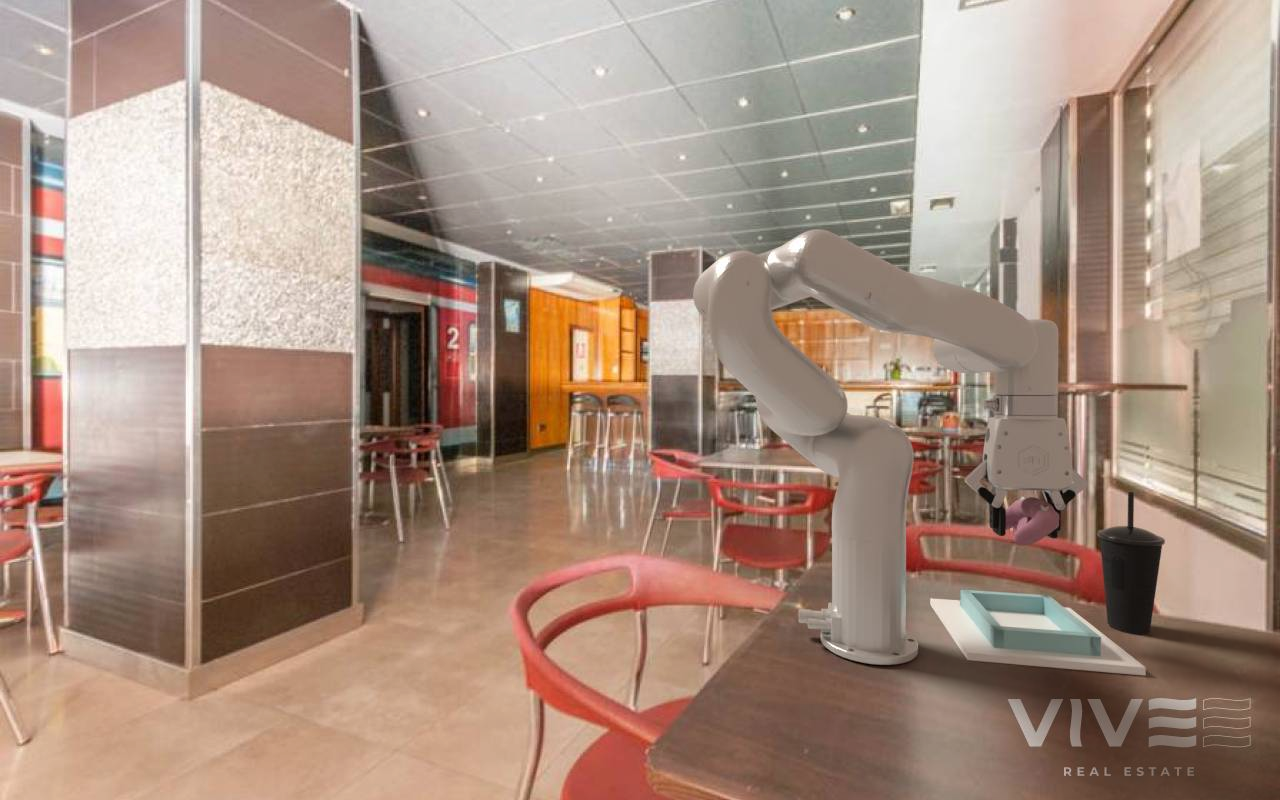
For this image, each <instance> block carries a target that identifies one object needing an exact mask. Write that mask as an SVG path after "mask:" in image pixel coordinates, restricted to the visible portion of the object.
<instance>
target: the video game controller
mask: <svg viewBox="0 0 1280 800" xmlns="http://www.w3.org/2000/svg"><path fill="white" fill-rule="evenodd" d="M1005 510H1006V531H1007V530H1011V529H1012V528H1015V527H1016V531H1015V532H1014V534H1013V542H1014V543H1015V544H1016V545H1017V546H1019V547H1023V546H1024V547H1025V546H1030V545H1033V544H1036V543H1038V542H1040V541H1041V540H1043V539H1044V538H1046V537H1047V535H1048V534H1050V533H1051V532H1053V531H1054V530H1055V529H1056V528H1057V527H1058V525H1059V514H1058V513H1057V512H1056V511H1055V510H1054V508H1053V507H1052V505H1050V504H1049V503H1048V502H1046V500H1043V499H1041V498H1037V497H1033V496H1032V497H1031V496H1030V497H1024V496H1021V497H1020V499H1017V500H1015V501H1014V502H1013V503H1012V504H1010V506H1009V507H1006V508H1005Z"/></svg>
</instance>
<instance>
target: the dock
mask: <svg viewBox="0 0 1280 800" xmlns="http://www.w3.org/2000/svg"><path fill="white" fill-rule="evenodd" d="M930 606H931V607H932V609H933V611H934V612H935V614H936V615H937V617H938V618H939V620H940V621H941V623H942V624H943V626H944V627H945V629H946V630H947V633H949V635H950V637H951V638H952V639H953V640H954V642H955V643H956V645H957V646H958V649H959V650H960V651H961V653H962V654H963V655H964V656H963V657H965V658H966V660H967V661H973V662H984V663H985V662H986V663H995V664H997V663H998V664H1007V665H1008V664H1009V665H1018V666H1019V665H1020V666H1032V667H1040V668H1041V667H1043V668H1054V669H1065V670H1078V671H1085V672H1086V671H1088V672H1098V673H1099V672H1101V673H1110V674H1124V675H1134V676H1135V675H1136V676H1145V677H1146V676H1147V674H1146V671H1147V668H1146V666H1145V665H1143V664H1142V663H1140V662H1139V661H1138V660H1137V659H1135V658H1134V657H1133V656H1132V655H1130V654H1129V653H1128V652H1126V651H1125V650H1124V649H1123V648H1122V647H1120V646H1119V645H1118V644H1116V643H1115V642H1114V641H1112V640H1111V639H1110V638H1109V637H1107V636H1106V635H1105V634H1104V633H1103V632H1101V631H1100V630H1099V629H1097V628H1096V627H1095V626H1094V625H1092V624H1091V623H1090V622H1089V621H1087V620H1086V619H1084V618H1083V617H1082V616H1081V615H1079V614H1078V612H1076V611H1074V610H1073V609H1072V608H1071V607H1066V606H1065V607H1064V606H1063V605H1061V604H1060V603H1059V602H1058V601H1057V600H1055V599H1054V598H1053V597H1051V596H1050V595H1049V594H1036V593H1035V594H1034V593H1019V592H1017V593H1015V592H1003V591H1001V592H1000V591H987V590H986V591H985V590H972V589H971V590H970V589H960V590H959V600H958V599H943V598H932V597H931V598H930Z"/></svg>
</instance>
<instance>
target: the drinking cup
mask: <svg viewBox="0 0 1280 800" xmlns="http://www.w3.org/2000/svg"><path fill="white" fill-rule="evenodd" d="M1134 505H1135V492H1134V491H1128V492H1127V525H1117V526H1111V527H1107V528H1104V529H1099V530H1097V531H1096V532H1097V537H1099V543H1100V556H1101V565H1102V574H1103V575H1102V577H1103V578H1102V579H1103V586H1104V597H1105V609H1106V620H1107V621H1106V622H1107V625H1108V624H1109V625H1110V626H1112V627H1113V629H1114V628H1115V629H1114V630H1116V629H1118V630H1117V631H1119V630H1121V631H1120V632H1123V631H1124V633H1127V632H1128V634H1132V633H1133V634H1134V635H1147V634H1150V632H1151V627H1152V626H1151V625H1152V620H1153V619H1152V618H1153V613H1154V605H1155V599H1156V593H1157V592H1156V591H1157V585H1158V584H1157V583H1158V578H1159V571H1160V562H1161V556H1162V549H1163V546H1164V545H1165V544H1166V541H1165V538H1164V537H1162V536H1160V535H1158V534H1155V533H1153V532H1152V531H1149V530H1146V529H1144V528H1139V527H1135V526H1134V518H1135V517H1134V515H1135V514H1134V512H1135V511H1134V510H1135V509H1134V507H1135V506H1134ZM1109 625H1108V626H1109ZM1110 626H1109V627H1110ZM1112 627H1111V628H1112ZM1133 634H1132V635H1133Z"/></svg>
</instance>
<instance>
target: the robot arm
mask: <svg viewBox="0 0 1280 800" xmlns="http://www.w3.org/2000/svg"><path fill="white" fill-rule="evenodd" d="M693 287H694V288H693V296H692V297H693V303H694V306H695V309H696V310H697V312H698V313H699V314H700V315H701V316H702V318H704V319H705V320H707V323H708V329H709V333H710V339H711V342H712V346H713V349H714V351H715V353H716V355H717V357H718V359H719V361H720V362H721V364H722V366H724V368H725V369H726V370H727V372H729V374H730V375H732V376H733V378H734V379H735V380H737V381H738V383H740V384H741V385H742V386H743V387H744V388H746V390H748V392H749V393H751V394H752V395H753V396H754V397H755V406H756V408H757V409H756V410H757V412H758V414H759V416H760V419H761V420H762V421H763V423H764V424H765V425H766V426H767V427H768V428H769V429H770V430H771V431H773V432H774V433H775V434H776V435H777V436H778V437H780V438H781V439H782V440H783V441H784V442H785V443H787V444H788V445H789V446H790V447H791V448H793V449H794V450H795V451H796V452H798V453H799V454H800V455H801V456H802V457H804V458H805V459H806V460H807V461H808V462H809V463H811V464H812V465H814V466H815V467H816V468H818V469H819V470H820V471H822V472H824V473H825V474H828V475H830V476H833V477H836V478H838V483H837V485H836V486H837V487H836V491H835V495H834V498H833V503H832V510H831V513H832V514H831V548H832V549H831V558H832V559H831V566H832V567H831V574H832V575H831V602H828V604H827V605H828V607H827V608H821V609H820V610H812V609H808V608H806V609H805V608H798V623H799V624H807V629H811V630H820V641H821V644H822V645H823V646H824V648H826V649H828V650H829V651H830V652H832V653H833V654H835V655H837V656H839V657H841V658H844V659H847V660H850V661H853V662H859V663H863V664H868V665H878V666H891V665H893V666H894V665H899V664H905V663H908V662H910V661H912V660H914V659H915V658H916V657H917V655H918V654H919V644H918V641H917V639H916V638H915V637H914V636H913V635H911V633H909V632H907V629H906V628H907V627H906V622H907V621H906V620H907V619H906V615H907V614H906V612H907V611H906V608H907V605H906V604H907V603H906V602H907V601H906V600H907V599H906V598H907V591H906V590H907V587H906V585H907V578H906V577H907V535H906V534H907V532H906V531H907V528H906V527H907V504H908V502H907V501H908V495H909V489H910V483H911V479H912V473H913V468H914V456H915V455H914V454H915V453H914V449H913V445H912V443H911V440H910V438H909V436H908V435H907V434H906V432H905V431H904V430H903V429H902V428H901V427H900V426H898V425H897V424H896V423H895V422H892V421H890V420H887V419H885V418H881V417H879V416H878V417H877V416H869V415H860V414H850V413H849V412H848V405H849V404H848V398H847V394H846V392H845V391H844V388H843V387H842V386H841V385H840V383H839V382H838V381H837V380H836V379H835V378H834V377H833V376H831V374H829V373H828V372H826V371H825V370H824V369H823V368H821V367H820V366H819V365H818V364H817V363H816V362H814V361H813V360H812V359H811V358H810V357H808V356H807V354H805V353H804V352H802V351H801V350H800V349H799V348H798V347H797V346H795V345H794V344H793V343H792V341H790V340H789V338H788V337H786V335H785V334H783V332H782V331H781V330H780V329H779V327H778V326H777V323H776V321H775V318H774V317H773V311H772V310H775V309H779V308H781V307H785V306H788V305H790V304H794V303H795V302H798V301H801V300H804V299H807V298H810V297H811V298H813V299H815V300H818V301H819V302H821V303H822V304H825V305H827V306H830V307H831V308H833V309H835V310H837V311H839V312H841V313H843V314H845V315H847V316H849V317H850V318H852V319H855V320H856V321H859V322H860V323H862V324H864V325H866V326H868V327H869V328H871V329H875V330H879V331H884V332H888V333H891V334H892V333H893V334H902V335H910V336H911V335H913V336H920V337H926V338H930V339H933V343H932V353H933V357H934V358H935V360H936V362H937V363H938V364H939V365H940V366H941V367H942V368H945V369H946V370H948V371H950V372H954V373H959V374H960V373H961V374H979V373H981V374H982V373H994V395H992V398H991V399H986V400H983V409H984V410H990V411H992V414H994V416H993V417H992V416H990V417H989V419H988V423H987V427H986V432H985V438H984V443H983V444H984V445H983V452H982V462H981V463H979V464H978V465H977V466H976V467H975V468H974V469H973V470H972V471H971V472H970V473H969V474H968V475H967V476H966V477H965V478H964V483H966V484H967V485H968V486H969V487H970V488H971V489H972V490H973V491H974V492H976V493H977V495H979V496H980V497H981V498H982V499H983V500H984V501H985V502H986V503H987V504H988V505H989V507H988V508H989V509H988V511H989V512H988V513H989V514H988V519H989V520H988V523H989V524H988V525H989V527H990V529H992V532H993V533H995V534H996V535H998V536H999V537H1005V536H1006V533H1007V532H1006V531H1007V530H1006V510H1005V509H1006V508H1005V507H1003V502H1004V500H1005V498H1006V495H1007V494H1008V492H1009V490H1013V491H1014V490H1015V491H1041V492H1042V494H1043V497H1044V499H1045V501H1046V502H1048V503H1049V504H1050V505H1052V507H1053V508H1054V510H1055V511H1056V512H1057V513H1058V514H1059V525H1058V527H1057V528H1056V529H1055V530H1054V531H1053V532H1051V533H1050V534H1048V535H1046V537H1047V536H1048V537H1049V538H1051V539H1057V538H1058V532H1060V531H1061V526H1062V525H1061V521H1062V519H1061V518H1062V517H1061V515H1062V513H1061V512H1062V511H1063V510H1065V507H1066V505H1068V504H1069V503H1070V502H1071V501H1072V500H1073V499H1075V497H1076V496H1077V495H1079V494H1080V493H1081V492H1083V491H1084V490H1085V489H1086V488H1088V486H1089V483H1088V481H1086V479H1085V478H1083V477H1082V476H1081V475H1080V473H1078V472H1077V471H1076V470H1075V469H1074V468H1073V463H1072V451H1071V444H1070V438H1069V437H1070V436H1069V432H1068V431H1069V430H1068V426H1067V423H1066V420H1065V418H1061V417H1058V416H1059V415H1058V412H1059V411H1058V401H1059V400H1058V399H1059V397H1058V395H1059V328H1058V325H1057V324H1056V322H1054V321H1052V320H1050V319H1041V318H1040V319H1039V318H1037V319H1035V318H1034V319H1032V318H1031V319H1028V318H1026V317H1025V316H1024V315H1023V314H1022V313H1020V312H1018V311H1017V310H1015V309H1013V308H1011V307H1010V306H1007V305H1006V304H1004V303H1002V302H1000V301H999V300H997V299H995V298H992V297H990V296H988V295H986V294H984V293H982V292H979V291H977V290H974V289H971V288H968V287H964V286H961V285H957V284H953V283H950V282H944V281H942V280H938V279H934V278H932V277H927V276H924V275H920V274H919V275H918V274H914V273H911V272H909V271H906V270H904V269H902V268H900V267H898V266H896V265H894V264H893V263H890V262H888V261H886V260H885V259H883V258H881V257H880V256H877V255H875V254H874V253H872V252H870V251H868V250H866V249H864V248H862V247H860V246H859V245H856V244H855V243H853V242H851V241H849V240H848V239H845V238H843V237H842V236H839V235H838V234H836V233H834V232H831V231H829V230H826V229H815V228H814V229H811V230H807V231H804V232H802V233H800V234H798V235H797V236H795V237H794V238H792V239H789V241H787V242H785V243H784V244H783V245H781V246H778V247H775V248H774V249H770V250H768V251H765V252H762V253H759V254H756V253H754V252H752V251H748V250H736V251H732V252H729V253H727V254H725V255H723V256H721V257H720V258H718V259H717V260H716V261H715V262H714V263H712V264H711V265H710V266H709V267H708V268H707V269H705V270H704V271H703V272H702V273H701V274H700V276H698V278H697V280H696V281H695V284H694V286H693ZM982 479H983V481H984V482H986V483H988V484H991V487H990V489H987V488H986V487H985V486H984V485H983V484H982V483H981V480H982Z"/></svg>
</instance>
